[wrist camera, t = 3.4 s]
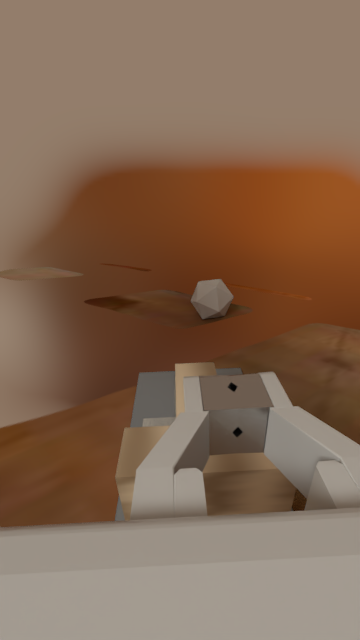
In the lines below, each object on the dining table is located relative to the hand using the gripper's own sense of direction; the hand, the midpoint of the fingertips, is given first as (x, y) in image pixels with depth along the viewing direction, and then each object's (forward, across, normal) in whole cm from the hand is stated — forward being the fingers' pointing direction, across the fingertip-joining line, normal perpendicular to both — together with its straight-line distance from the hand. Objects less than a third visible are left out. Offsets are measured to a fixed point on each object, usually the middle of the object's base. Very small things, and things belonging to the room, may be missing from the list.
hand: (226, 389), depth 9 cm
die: (+48, -6, +21) cm, 53 cm away
